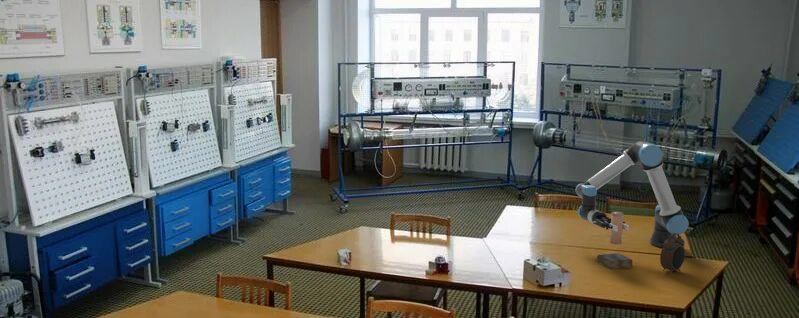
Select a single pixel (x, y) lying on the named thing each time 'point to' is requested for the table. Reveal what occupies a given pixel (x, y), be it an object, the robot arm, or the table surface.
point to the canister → (618, 221)
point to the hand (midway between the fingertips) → (622, 228)
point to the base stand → (614, 260)
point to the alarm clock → (673, 253)
